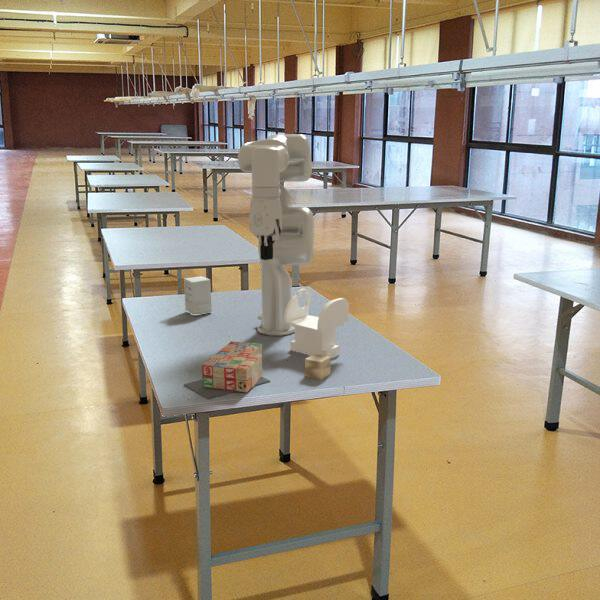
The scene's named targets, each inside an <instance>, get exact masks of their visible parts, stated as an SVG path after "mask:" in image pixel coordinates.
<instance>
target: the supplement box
mask: <svg viewBox="0 0 600 600" xmlns="http://www.w3.org/2000/svg"><path fill="white" fill-rule="evenodd" d="M183 283H184V284H183V286H184V305H185V306H184V307H185V311H186V310H187V311H189V312H190V313H192V314H203V313H210V312H212V313H213V309H212V307H213V306H212V286H211V284H212V283H211V279H209V278H208V277H205V276H201V275H200V276H193V277H185V278H183Z"/></svg>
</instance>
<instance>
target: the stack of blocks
mask: <svg viewBox="0 0 600 600" xmlns="http://www.w3.org/2000/svg"><path fill="white" fill-rule="evenodd" d="M262 345H263V344H262V343H260V342H247V341H246V342H244V341H243V342H242V341H230V342H229V343H228V344H226V345H225V346H223V347H222V348H221V349H219V351H218V352H216V353H215V354H214V355H212V357H210V358H209V359H208V360H206V361H205V362H204V363H203V364H202V365H201V377H202V379H201V380H203V387H204V388H212V389H214V388H215V389H223V390H230V391H235V392H240V393H248V392H249V391H250V390H251V389H253V387H255V386H254V385H255V384H256V383H257V381H258V380H259V379H260V378H261V377H263V353H262V351H263V349H262Z"/></svg>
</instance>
